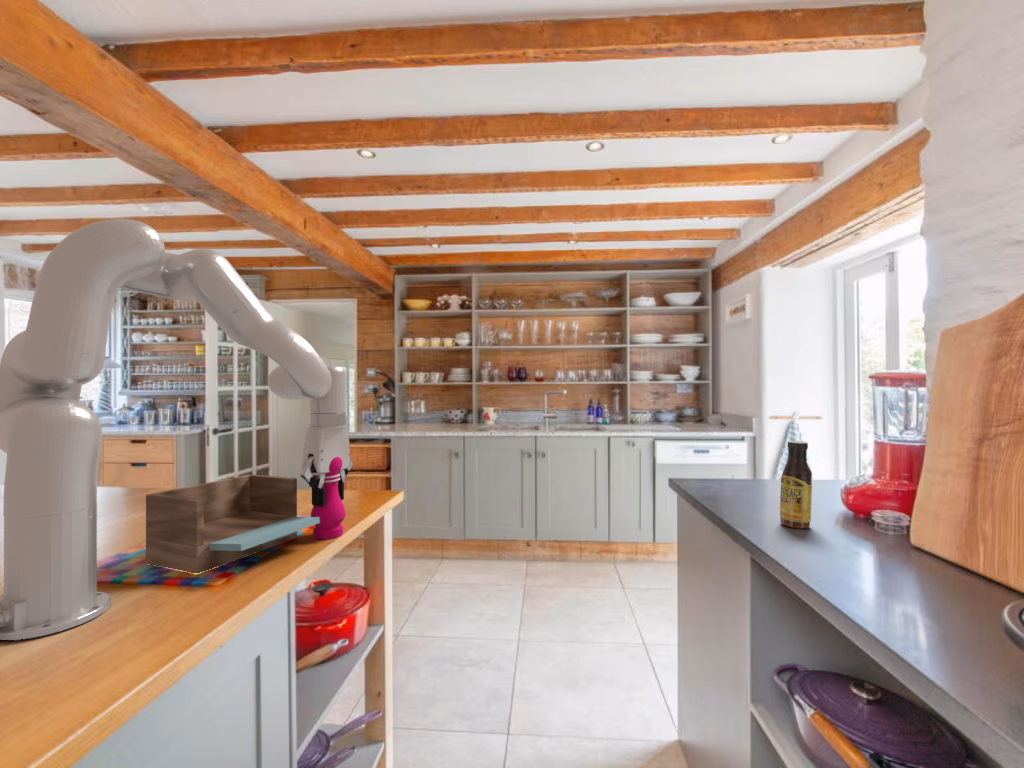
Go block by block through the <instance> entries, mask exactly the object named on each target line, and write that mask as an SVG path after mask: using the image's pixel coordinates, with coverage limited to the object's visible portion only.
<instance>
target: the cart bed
mask: <svg viewBox="0 0 1024 768" xmlns="http://www.w3.org/2000/svg"><path fill="white" fill-rule="evenodd" d="M292 517H298V478H296V477H283V476H273V475H262V474H251V473H250V474H246V475H241V476H234V477H229V478H225V479H221V480H214V481H209V482H204V483H201V484H200V483H199V484H193V485H190V486H189V485H188V486H184V487H179V488H178V487H177V488H173V489H169V490H164V491H158V492H155V493H154V492H153V493H147V494H145V565H146V564H150V565H156V566H163V567H168V568H173V569H178V570H183V571H187V572H191V573H200V572H203V571H206V570H209V569H212V568H214V567H217V566H220V565H223V564H226V563H229V562H232V561H234V560H237V559H239V558H242V557H245V556H247V555H250V554H253V553H255V552H258V551H261V552H263V551H266V550H269V549H271V548H274V547H276V546H275V545H277V546H279V545H282V544H284V543H283V542H285V543H287V542H289V540H290V541H292V540H291V539H293V540H295V539H297V538H298V532H297V533H295V534H292V535H289V536H287V537H284V538H281V539H278V540H276V541H273V542H270V543H267V544H265V545H262V546H260V545H257V546H254V547H251V548H248V549H246V550H243V551H215V550H210V548H209V544H210V543H213V542H216V541H219V540H222V539H225V538H228V537H231V536H235V535H238V534H241V533H244V532H247V531H250V530H253V529H256V528H259V527H263V526H266V525H269V524H272V523H275V522H278V521H281V520H284V519H288V518H292ZM294 538H295V539H294ZM286 541H287V542H286ZM281 543H282V544H281ZM278 544H279V545H278ZM273 546H274V547H273ZM270 547H271V548H270ZM268 548H269V549H268ZM265 549H266V550H265ZM262 550H263V551H262ZM258 553H259V552H258ZM255 554H256V553H255ZM253 555H254V554H253ZM250 556H251V555H250ZM245 558H246V557H245ZM242 559H243V558H242ZM237 561H238V560H237ZM234 562H235V561H234ZM232 563H233V562H232ZM229 564H230V563H229ZM150 565H149V566H150ZM226 565H227V564H226Z"/></svg>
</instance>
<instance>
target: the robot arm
mask: <svg viewBox="0 0 1024 768" xmlns="http://www.w3.org/2000/svg"><path fill="white" fill-rule="evenodd" d="M120 289H122V290H126V291H127V290H128V291H131V292H137V293H141V294H146V295H151V296H154V297H160V298H164V299H165V298H166V299H170V300H175V301H184V302H185V301H186V302H193V301H196V302H197V303H198V304H199V305H200V306H201V307H202V308H203V309H204V310H205V312H206V313H207V314H208V315H209V316H210V317H211V319H213V321H215V323H216V324H217V325H218V327H219V328H220V329H221V330H222V331H223V332H224V333H225V335H227V337H228V338H229V339H230V340H232V341H233V342H235V343H236V344H239V345H241V346H243V347H245V348H248V349H251V350H254V351H255V352H256V351H257V352H258V353H260V354H262V355H265V357H268V358H269V359H270V360H272V361H274V362H275V363H276V364H277V365H278V366H277V367H275V368H273V370H271V372H270V374H268V379H267V385H268V388H269V389H270V391H271V392H272V393H273V394H274V395H275V396H277V397H278V398H282V399H284V400H285V399H287V400H309V427H307V429H306V432H305V437H304V442H303V443H304V444H303V450H302V451H303V453H302V470H301V472H300V474H299V475H300V477H301V478H302V479H303V480H304V481H305V482H307V484H308V487H309V488H311V505H312V507H313V506H325V488H324V487H323V483H324V478H325V474H326V473H329V472H330V471H329V465H330V462H331V461H332V459H334V458H335V457H340V458H341V459H342V468H341V469H340V471H339V472H338V473H339V474H340V480H339V481H338V492H339V496H340V499H341V501H344V498H345V482H346V481H347V476H348V474H349V471H350V470H351V469H352V467H353V466H354V464H353V462H352V460H351V454H350V452H351V450H350V448H351V447H350V437H349V431H348V426H347V419H348V418H347V373H346V369H345V367H342V366H340V365H326V363H325V362H324V360H323V359H322V357H321V356H320V355H319V354H318V352H317V351H316V350H315V348H314V347H313V346H312V345H311V344H310V343H309V342H308V341H307V340H306V339H305V338H304V337H303V336H301V335H300V334H299V333H298V332H296V331H295V330H293V329H292V328H290V327H289V326H287V325H286V324H285V323H284V322H283V321H281V320H280V319H278V318H276V317H274V316H273V315H272V314H271V313H270V312H269V311H268V310H267V308H266V306H265V305H264V304H263V303H262V301H260V300H259V298H258V297H257V295H255V293H254V292H253V291H252V289H251V287H249V286H248V284H247V283H246V281H245V280H244V279H243V278H242V277H241V275H240V274H239V273H238V272H237V270H236V269H235V267H234V266H233V265H232V264H231V263H230V261H229V260H228V259H227V258H226V257H225V256H224V255H222V254H221V253H220V252H219V251H216V250H214V249H210V248H197V249H193V250H188V251H186V252H182V253H180V254H177V253H172V252H171V253H170V252H166V246H165V243H164V239H163V238H162V236H161V235H160V233H159V232H158V231H157V230H156V229H155V228H153V227H152V226H150V225H148V224H147V223H144V222H143V221H141V220H140V221H139V220H134V219H131V218H129V219H128V218H113V219H105V220H101V221H95V222H93V223H90V224H87V225H84V226H81V227H80V228H78V229H76V230H75V231H72V232H71V233H69V234H68V235H67V236H66V237H64V238H63V239H62V240H61V241H60V242H58V243H57V245H55V247H54V248H53V249H51V251H50V252H49V254H48V255H47V256H46V259H45V260H44V262H43V264H42V266H41V269H40V271H39V274H38V278H37V280H36V285H35V289H34V294H33V298H32V302H31V306H30V312H29V315H28V320H27V323H26V327H25V330H23V331H21V332H19V333H17V334H16V335H15V336H13V337H12V338H11V339H10V341H9V342H8V343H7V344H6V346H5V348H4V350H3V353H2V355H1V358H0V450H1V451H3V452H5V453H6V464H5V471H4V472H5V473H4V483H3V498H2V499H3V501H2V502H3V505H2V506H3V507H2V508H3V509H2V511H3V512H2V515H3V516H2V517H3V595H0V640H14V641H22V640H21V639H23V640H28V639H34V638H38V637H39V638H40V637H43V636H48V635H52V634H55V633H60V632H63V631H65V630H69V629H72V628H74V627H76V626H79V625H80V626H81V625H83V624H86V623H87V622H89V621H91V620H94V619H95V618H96V617H98V616H100V615H102V614H103V613H105V612H106V611H107V610H108V609H109V607H110V606H111V596H110V595H109V593H108V594H107V593H106V592H103V591H98V500H97V499H98V474H99V473H98V472H99V464H100V457H101V451H102V443H103V429H102V425H101V422H100V419H99V417H98V416H97V414H96V413H95V412H94V411H93V409H91V408H90V407H89V406H88V405H86V404H84V403H83V402H81V401H80V397H81V391H82V386H83V385H85V384H88V383H90V382H92V381H93V380H94V379H96V378H97V377H98V375H100V374H101V371H102V370H103V368H104V365H105V360H106V350H107V341H108V335H109V326H110V320H111V314H112V310H113V306H114V302H115V299H116V296H117V295H118V291H119V290H120ZM317 476H319V479H318V480H317Z"/></svg>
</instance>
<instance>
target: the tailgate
mask: <svg viewBox="0 0 1024 768" xmlns="http://www.w3.org/2000/svg"><path fill="white" fill-rule="evenodd" d="M318 523H320V520H319V517H311V516H310V517H309V516H308V517H305V516H304V517H301V516H300V517H299V516H297V517H292V518H288V519H284V520H281V521H278V522H275V523H272V524H269V525H266V526H263V527H259V528H256V529H253V530H250V531H247V532H244V533H241V534H238V535H235V536H231V537H228V538H225V539H222V540H219V541H216V542H213V543H210V544H209V548H210V550H215V551H243V550H246V549H248V548H251V547H254V546H257V545H260V546H262V545H265V544H267V543H270V542H273V541H276V540H278V539H281V538H284V537H287V536H289V535H292V534H295V533H297V534H298V531H301V530H304V529H306V528H309V527H312V526H315V524H318Z"/></svg>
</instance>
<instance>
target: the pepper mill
mask: <svg viewBox="0 0 1024 768" xmlns="http://www.w3.org/2000/svg"><path fill="white" fill-rule="evenodd" d="M341 468H342V459H341V458H340V457H335V458H334V459H332V461H331V462H330V465H329V471H330V472H329V473H326V474H325V478H324V483H323V487H324V488H325V506H313V505H312V508H311V512H310V517H319V520H320V523H318V524H315V525H314V527H313V529H312V537H313V538H314V539H316V540H331V538H332V539H336V538H339V537H341V536H342V535H344V525H343V524H342V522H343V521H344V520H345V518H346V508H345V505H344V503H343V500H341V499H340V496H339V492H338V481H339V480H340V474H339V473H338V472H339V471H340V469H341ZM316 479H317V480H318V479H319V476H317V478H316ZM335 537H336V538H335Z"/></svg>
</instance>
